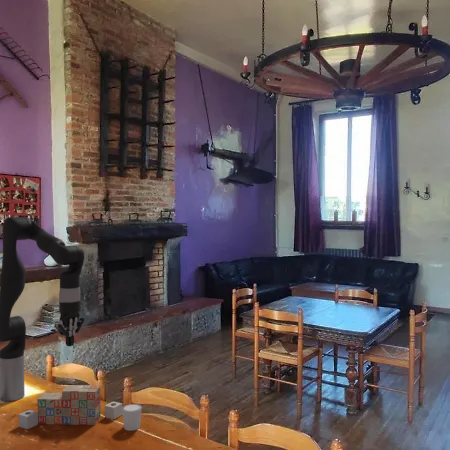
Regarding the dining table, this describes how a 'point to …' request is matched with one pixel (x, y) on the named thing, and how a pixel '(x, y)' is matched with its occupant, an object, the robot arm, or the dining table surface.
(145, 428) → the dining table surface
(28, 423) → the grey marked cube
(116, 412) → the ivory marked cube
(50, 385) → the dining table surface
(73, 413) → the stack of blocks
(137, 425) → the shot glass
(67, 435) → the dining table surface
